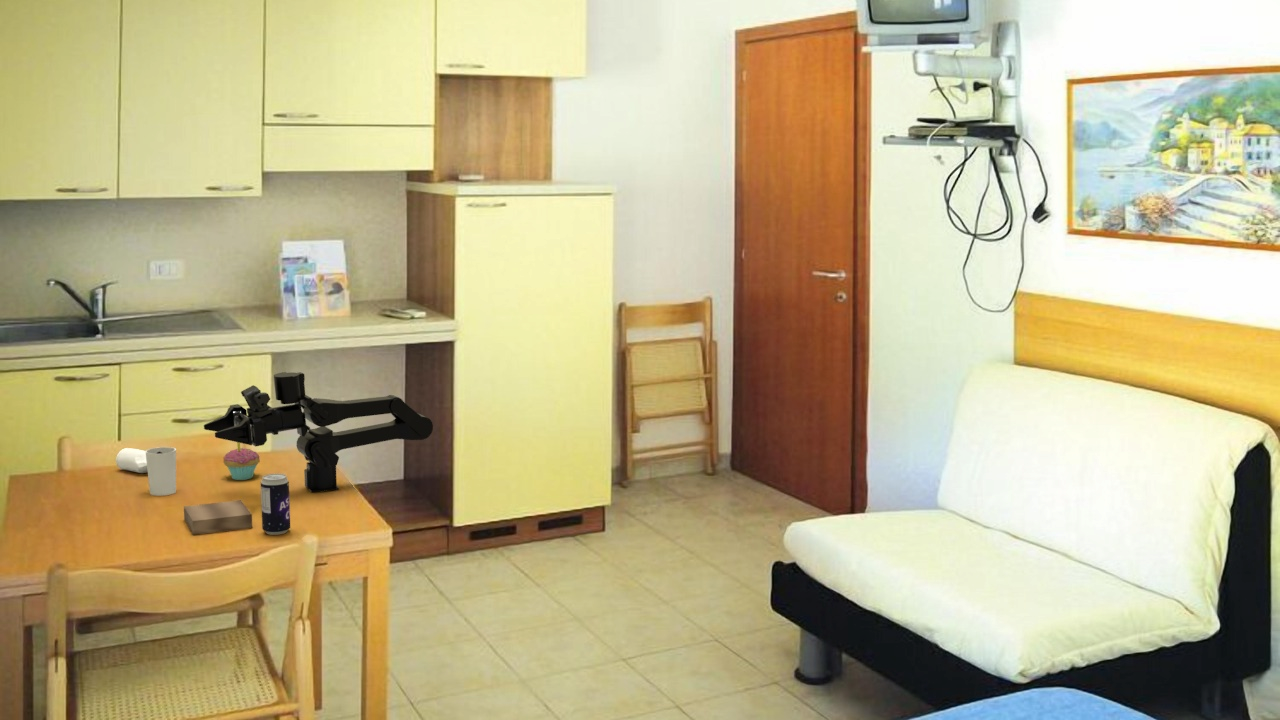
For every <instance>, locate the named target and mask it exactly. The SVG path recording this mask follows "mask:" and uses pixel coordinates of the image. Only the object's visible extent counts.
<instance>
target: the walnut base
mask: <svg viewBox="0 0 1280 720" xmlns="http://www.w3.org/2000/svg"><path fill="white" fill-rule="evenodd" d="M183 518H184V519H183V521H184V522H185V523H186V526H188V528H189V530H190V531H191V534H192V536H196V535H198V536H199V535H203V534H204V535H205V534H212V533H213V534H215V533H221V532H223V533H224V532H229V531H237V530H239V531H240V530H246V529H253V514H252V513H251V511H250V510H249V508H248V507H247V506H246V505H245V504H244V502H243V501H242V500H229V501H222V502H212V503H203V504H195V505H185V506H183Z"/></svg>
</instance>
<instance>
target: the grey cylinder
mask: <svg viewBox="0 0 1280 720" xmlns="http://www.w3.org/2000/svg"><path fill="white" fill-rule="evenodd" d="M145 451H146V461H147V470H148V472H147V477H148V488H149V490H148V491H149V494H150V495H151V496H159V497H160V496H161V497H162V496H163V497H164V496H168V495H174V494H175V493H177V448H176V447H171V446H159V447H153V448H152V447H151V448H149V449H146V450H145Z"/></svg>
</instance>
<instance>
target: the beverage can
mask: <svg viewBox="0 0 1280 720" xmlns="http://www.w3.org/2000/svg"><path fill="white" fill-rule="evenodd" d="M287 477H288V476H287V475H286V474H284V473H269V474H266V475H265V474H264V475H263V476H262V477H261V481H260V500H261V501H260V503H261V506H260V507H261V526H262V527H261V528H262V530H263V532H265V533H266V534H268V535H271V536H277V535H278V536H279V535H284V534H286V533H287V532H288V531H289V530H290V529H291V508H290V507H291V506H290V504H291V503H290V484H289V483H290V481H289V480H288V478H287Z"/></svg>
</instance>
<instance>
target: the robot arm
mask: <svg viewBox="0 0 1280 720" xmlns="http://www.w3.org/2000/svg"><path fill="white" fill-rule="evenodd" d="M305 379H306V378H305V373H303V372H302V371H301V372H286V371H284V372H283V371H282V372H278V373H275V374H273V384H274V393H275V396H274V397H275V400H276V401H280V404H281V405H282V406H276V407H275V406H274V407H272V406H270V405H268V403H269V402H270V401H271V397H270V395H269V393H267V392H261V389H259V387H257V386H256V385H251V386H249V387H247V388H245V389H243V390H241V391H240V394H241V396H242V397H243V398H244V400H245V401H246V405H247V406H248V407H246V408H245V407H243V406H241V405H240V404H231V405H229V407H227V411H226V413H225V414H224V415H222V416H219V418H216V419H214V420H212V421H209V422H207V423H205V424H204V425H203V429H204V431H205V430H206V431H210V432H211V431H212V432H214V437H215V438H216V439H221V440H225V441H229V442H235V443H237V442H239V443H240V444H244V445H248V446H254V447H259V446H264V445H265V443H266V442H267V441H268V436H267V435H269V434H272V435H274V436H276V435H279V433H280V432H285V431H291V430H296V433H297V435H299V436H298V438H297V439H296V449H297V450H298V452H299V453H300V454H301V455H303V456H304V457H303V458H304V459H305V461H308V462H306V468H305V469H304V472H303V473H304V474H303V475H304V486H305V488H307V490H308V491H309V492H310V493H320V492H328V491H330V492H331V491H337V490H339V488H340V487H339V486H338V485H337V466H338V463H339V459H340V457H339V455H338V454H337V453H338V452H340V451H342V450H346V449H351V448H358V447H362V446H363V447H364V446H367V445H373V444H379V443H383V442H387V441H394V440H406V441H425V440H426V439H429V438H430V436H431V434H432V432H433V431H434V430H433V429H434V425H433V421H432V420H431V419H430V418H429V417H427V416H426V415H425V416H424V415H423V414H420V413H418V412H417V411H415V410H414V409H413V408H412V407H410V406H409V405H408V404H406V403H405V401H404V400H403V399H402V398H401V397H399V396H397V395H393V394H389V395H385V396H378V397H368V398H359V399H349V400H336V399H330V398H329V399H328V398H320V397H319V398H317V397H316V398H315V397H314V398H312V397H311V396H309V395H306V388H305V387H306V386H305ZM302 410H303V411H302ZM380 415H392V417H393V418H394V419H393V420H391V421H389V422H384V423H379V424H373V425H366V426H362V427H357V428H352V429H347V430H341V431H334V430H332V429H330V428H329V427H328V426H331V425H334V424H338V423H340V422H342V421H343V420H347V419H354V418H361V417H369V416H370V417H371V416H380ZM306 420H307V421H308V422H310V423H311V424H313V425H316V426H317V427H316V428H311V427H310V426H308V424H307V421H306Z"/></svg>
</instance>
